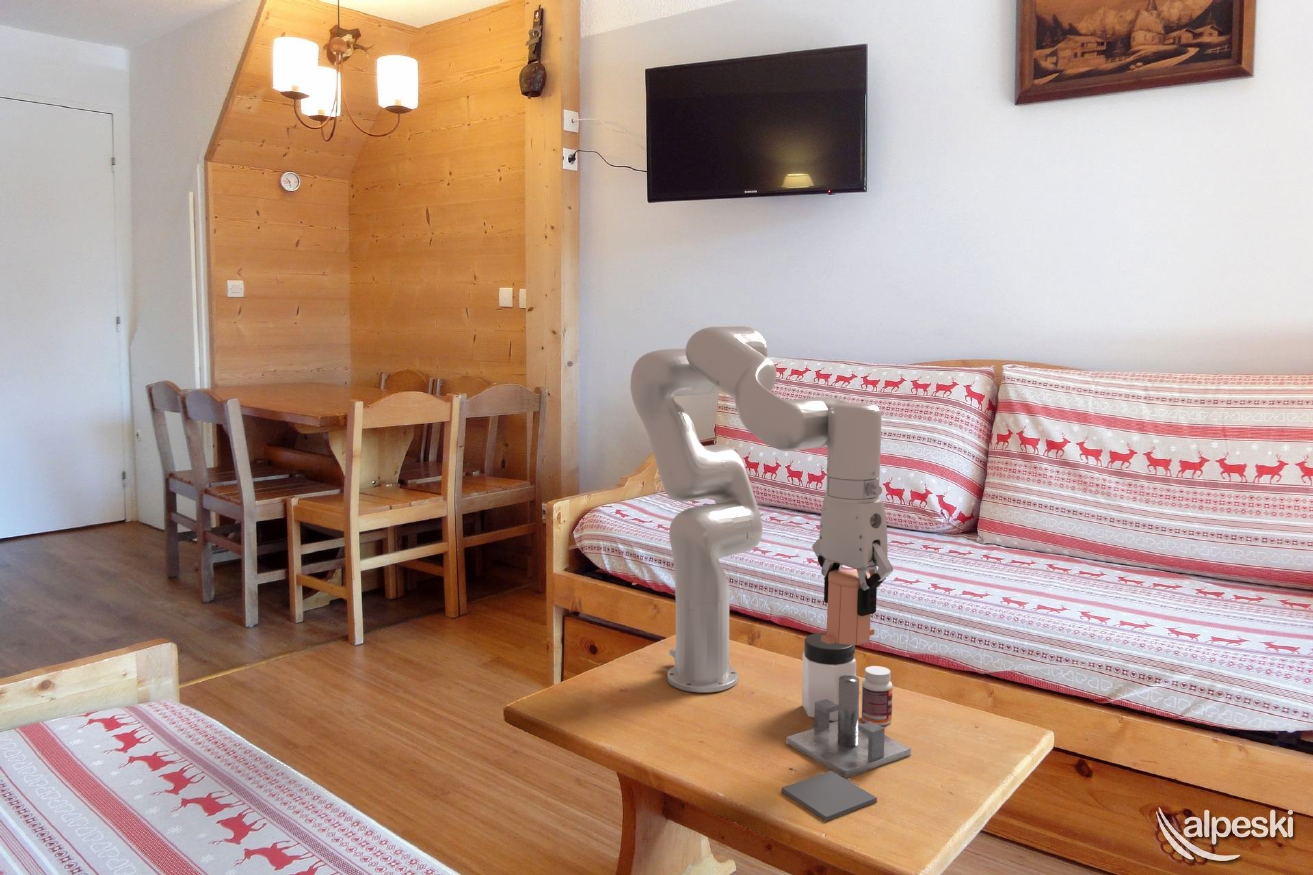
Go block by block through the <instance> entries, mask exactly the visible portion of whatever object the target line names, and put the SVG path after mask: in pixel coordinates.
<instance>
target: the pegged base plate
mask: <svg viewBox="0 0 1313 875" xmlns="http://www.w3.org/2000/svg"><path fill="white" fill-rule="evenodd" d="M859 708H860V678H859V677H858V676H856V677H855V676H851V675H844V676H840V677H839V700H838V705H837V704H835V703H833V702H831V701H829V700H827V699H824V700H821V701H818V702H815V708H814V718H813V722H814V724H813V728H811V729H808V730H805V731H801V732H799V733H795V734H791V735H788V736H786V744H787V745H789V746H790V747H792V748H794V749H796V751H799V752H801V753H802V754H803V755H806V756H807V757H809V758H811V759H813V760H814V761H816V762H817V763H819V764H821V765H822V766H824V767H826V768H827V769H829V770H830V771H833V772H834V773H836V774H838V775H840V776H841V777H843V778H845V779H849V778H851V777H854V776H857V775H859V774H862V773H864V772H868V771H870V770H873V769H875V768H878V767H881V766H884V765H887V764H890V763H893V762H895V761H898V760H901V759H903V758H907V757H909V756H911V755H912V748H910V747H909V746H907V745H905V744H904V743H901V742H899V741H897V740H895V739H893V738H891V737H890V736H887V735H885V729H886V728H885V727H883V726H879V725H877V724H875V723H873V722H871V721H870V722H867V723H866V722H864V723H862V722H860V721H859V717H860V716H859V714H860V709H859ZM837 710H838V721H832V722H830V721H829V717H830V713H831V712H834V711H837Z"/></svg>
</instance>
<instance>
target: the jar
mask: <svg viewBox="0 0 1313 875" xmlns="http://www.w3.org/2000/svg"><path fill="white" fill-rule="evenodd" d="M822 635H826V632H818V633H817V632H816V633H812V634H809V635H807V636H806V637H805V639H804V640H803V641H804V643H803V644H804V646H803V648H804V650H803V652H802V673H801V674H802V675H801V677H802V684H801V686H802V688H801V692H802V694H801V696H802V697H801V705H802V707H803V709H804V712H805V713H806V715H807V717H809V718H813V719H814V708H815V702H818V701H821V700H824V699H827V700H829V701H831V702H833V703H835V704H837V705H838V700H839V677H840V676H844V675H851V676H855V677H857V660H856V658H855V654H856V647H855V646H856V645H850V644H839V643H831V644H827V643H824V642H822V641H821V636H822ZM836 721H838V710H837V711H834V712H831V713H830V717H829V722H836Z"/></svg>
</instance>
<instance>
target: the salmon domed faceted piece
mask: <svg viewBox="0 0 1313 875" xmlns="http://www.w3.org/2000/svg"><path fill="white" fill-rule="evenodd" d="M866 574H867V578H869V577H870V573H869V572H866ZM828 581H829V584H828V603H827V612H826V632H825V633H826V635H822V636H821V641H822V642H824V643H827V644H831V643H839V644H850V645H855V646H858V645H863V644H867V643H870V636H873V635H875V628H872V627H871V615H872V614H869V615H865V616H859V615H858V614H857V600H858V589H860V588H862V587H861V584H860V580H859V576H858V573H857V569H841V570H834V571H831V572H829V575H828Z"/></svg>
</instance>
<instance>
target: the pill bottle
mask: <svg viewBox="0 0 1313 875" xmlns="http://www.w3.org/2000/svg"><path fill="white" fill-rule="evenodd" d="M893 691H894V690H893V683H892V681H891V670H890V669H889V668H888V667H884V666H881V665H871V666H867V667H865V669H864V679H863V681H862V683H861V719H862V721H863V722H864V723H867V722H870V721H871V722H873V723H875V724H877V725H879V726H881V727H883V726H887V725H889V724H890V723H891V722H892V719H893V718H892V716H893V715H892V714H893Z"/></svg>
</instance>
